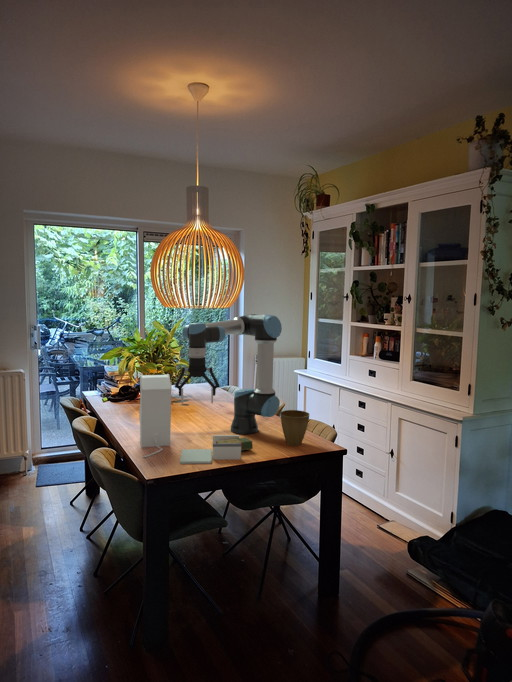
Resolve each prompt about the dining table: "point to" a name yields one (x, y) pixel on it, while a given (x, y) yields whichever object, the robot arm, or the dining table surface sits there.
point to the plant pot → (294, 426)
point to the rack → (226, 447)
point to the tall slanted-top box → (155, 411)
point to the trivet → (196, 456)
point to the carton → (245, 442)
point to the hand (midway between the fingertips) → (197, 402)
